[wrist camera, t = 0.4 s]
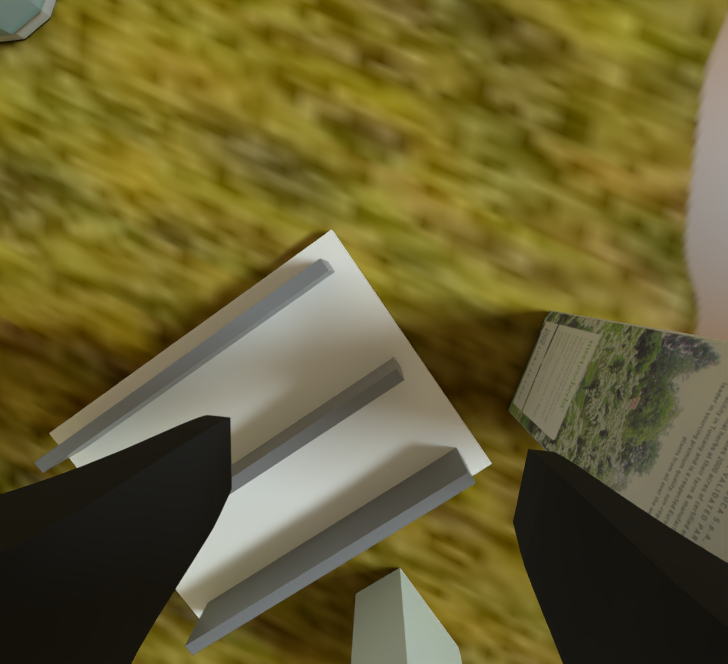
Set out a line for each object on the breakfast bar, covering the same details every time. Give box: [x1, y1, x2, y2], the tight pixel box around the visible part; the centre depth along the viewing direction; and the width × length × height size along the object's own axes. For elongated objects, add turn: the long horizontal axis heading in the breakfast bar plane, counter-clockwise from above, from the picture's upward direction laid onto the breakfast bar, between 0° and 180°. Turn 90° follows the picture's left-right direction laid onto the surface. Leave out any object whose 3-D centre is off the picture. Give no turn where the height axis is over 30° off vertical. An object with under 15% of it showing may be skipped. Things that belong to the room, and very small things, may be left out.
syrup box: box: [509, 311, 728, 563], centre depth 12 cm, size 6×6×14 cm
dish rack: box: [34, 230, 492, 655], centre depth 19 cm, size 18×14×4 cm
